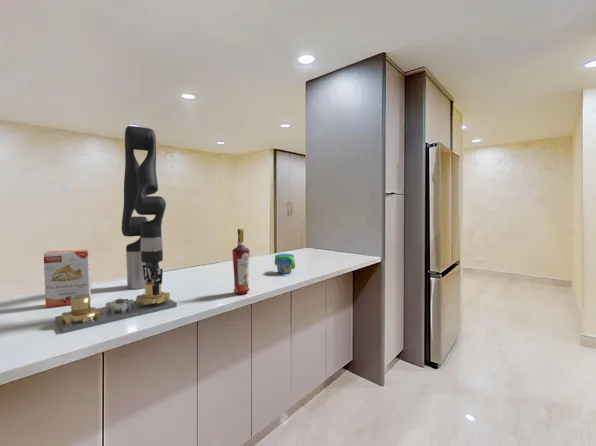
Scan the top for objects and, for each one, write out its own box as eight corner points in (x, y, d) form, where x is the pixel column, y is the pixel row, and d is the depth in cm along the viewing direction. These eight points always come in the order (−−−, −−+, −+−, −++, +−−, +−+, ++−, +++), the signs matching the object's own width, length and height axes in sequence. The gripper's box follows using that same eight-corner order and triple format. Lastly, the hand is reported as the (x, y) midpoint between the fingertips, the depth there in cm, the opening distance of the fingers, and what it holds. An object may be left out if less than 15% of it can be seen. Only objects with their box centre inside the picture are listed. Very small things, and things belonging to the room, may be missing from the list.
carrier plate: (55, 321, 105) (54, 297, 104) (162, 299, 129) (161, 279, 129) (62, 333, 95) (61, 307, 94) (176, 306, 119) (176, 285, 119)
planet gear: (131, 299, 120) (130, 282, 120) (162, 293, 129) (162, 277, 128) (142, 306, 112) (141, 288, 111) (175, 299, 120) (175, 282, 120)
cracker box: (45, 308, 118) (42, 253, 117) (49, 304, 123) (46, 251, 122) (89, 303, 124) (87, 250, 123) (91, 299, 130) (89, 248, 129)
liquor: (243, 289, 143) (242, 228, 141) (253, 293, 138) (252, 229, 136) (229, 293, 138) (228, 229, 136) (239, 296, 133) (238, 230, 131)
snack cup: (300, 274, 175) (300, 255, 175) (284, 276, 169) (284, 257, 169) (284, 269, 188) (284, 252, 187) (269, 271, 182) (269, 254, 181)
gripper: (134, 248, 121) (136, 291, 122) (148, 252, 111) (149, 299, 112) (154, 246, 127) (155, 288, 128) (169, 249, 117) (170, 295, 117)
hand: (153, 293), depth 120 cm, fingers closed on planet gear, 5 cm apart
